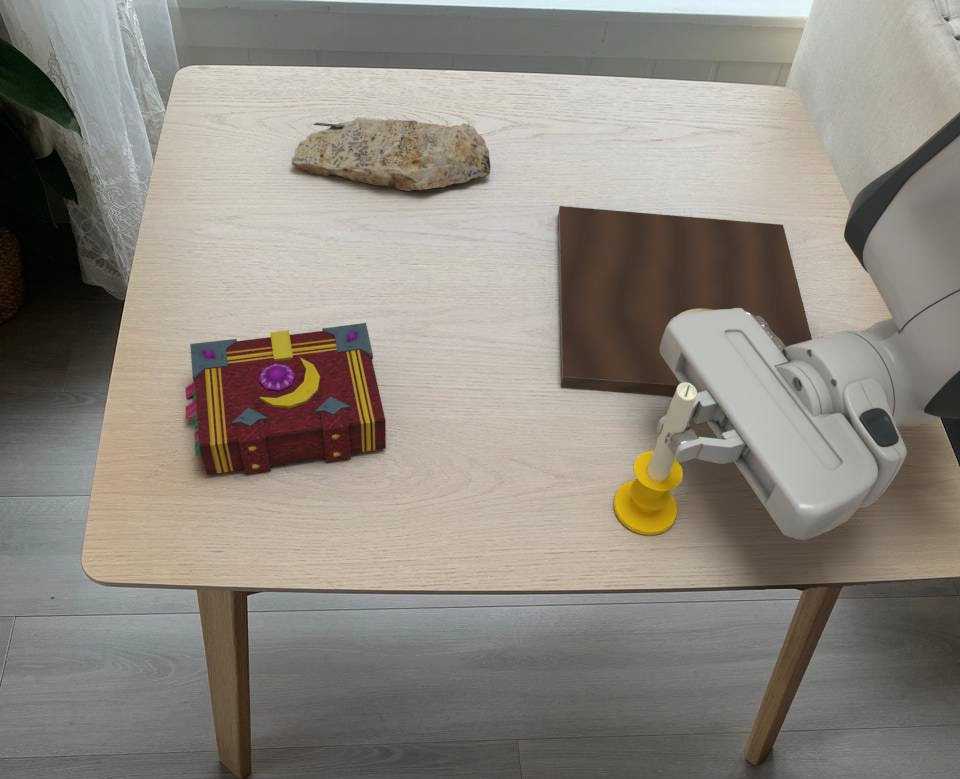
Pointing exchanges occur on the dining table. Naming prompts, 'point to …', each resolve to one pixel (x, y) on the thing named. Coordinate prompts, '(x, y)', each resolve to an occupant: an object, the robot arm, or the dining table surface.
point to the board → (661, 289)
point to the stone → (395, 153)
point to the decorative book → (285, 399)
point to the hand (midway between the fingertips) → (667, 440)
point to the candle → (656, 474)
